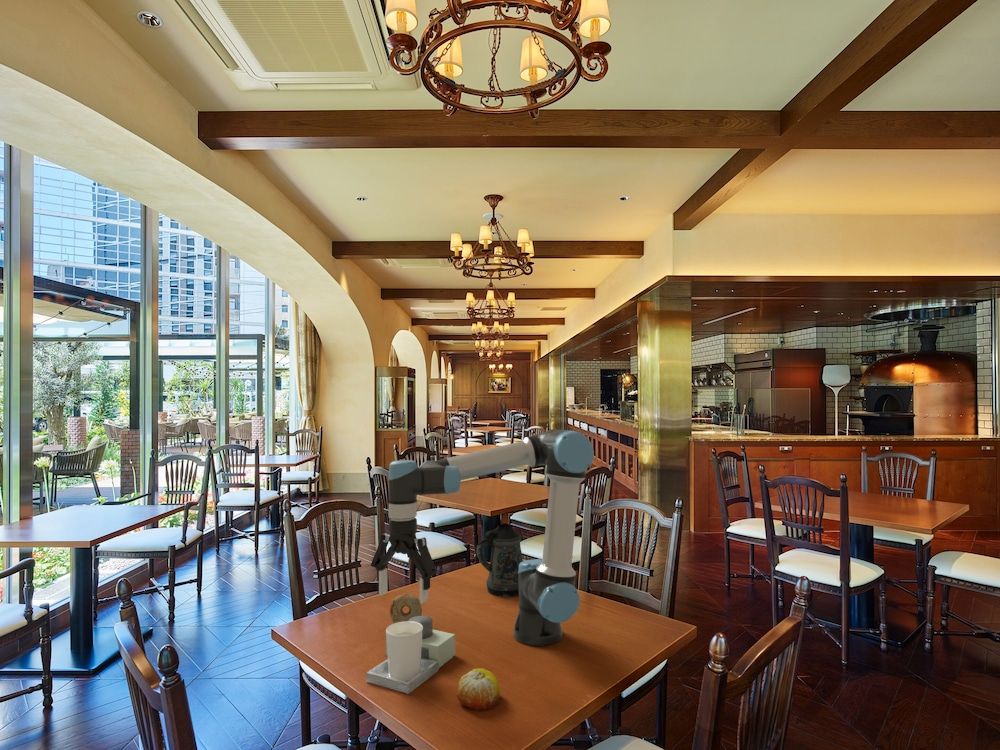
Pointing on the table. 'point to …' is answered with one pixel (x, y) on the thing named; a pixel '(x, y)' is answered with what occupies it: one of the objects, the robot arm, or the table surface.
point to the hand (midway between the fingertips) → (403, 597)
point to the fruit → (478, 689)
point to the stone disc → (400, 602)
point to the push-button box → (434, 641)
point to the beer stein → (502, 560)
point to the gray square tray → (381, 678)
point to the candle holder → (404, 649)
